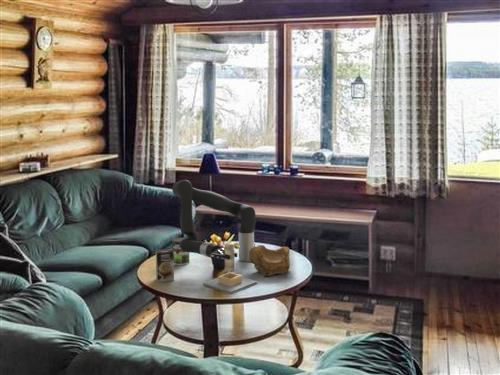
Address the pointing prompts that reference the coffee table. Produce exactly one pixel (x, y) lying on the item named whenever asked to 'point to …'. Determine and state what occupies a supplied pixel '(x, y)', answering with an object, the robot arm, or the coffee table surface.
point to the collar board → (230, 283)
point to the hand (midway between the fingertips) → (233, 256)
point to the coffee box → (164, 265)
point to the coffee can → (179, 252)
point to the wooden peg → (230, 251)
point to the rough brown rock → (270, 260)
